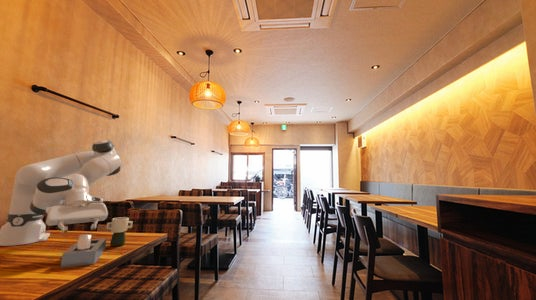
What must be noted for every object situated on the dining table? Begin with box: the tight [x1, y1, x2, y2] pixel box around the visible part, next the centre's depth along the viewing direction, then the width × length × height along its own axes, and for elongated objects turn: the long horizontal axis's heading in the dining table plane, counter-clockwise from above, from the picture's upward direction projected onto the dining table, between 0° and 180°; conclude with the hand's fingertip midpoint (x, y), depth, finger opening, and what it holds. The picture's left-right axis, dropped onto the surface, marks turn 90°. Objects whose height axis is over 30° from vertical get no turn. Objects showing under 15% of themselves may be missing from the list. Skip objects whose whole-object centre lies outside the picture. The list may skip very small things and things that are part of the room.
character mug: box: [105, 216, 134, 247], centre depth 112 cm, size 11×7×13 cm, turn 122°
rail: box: [60, 237, 107, 269], centre depth 93 cm, size 20×10×5 cm, turn 26°
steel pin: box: [77, 233, 92, 251], centre depth 89 cm, size 4×4×10 cm
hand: (79, 230), depth 92 cm, fingers open, 8 cm apart
